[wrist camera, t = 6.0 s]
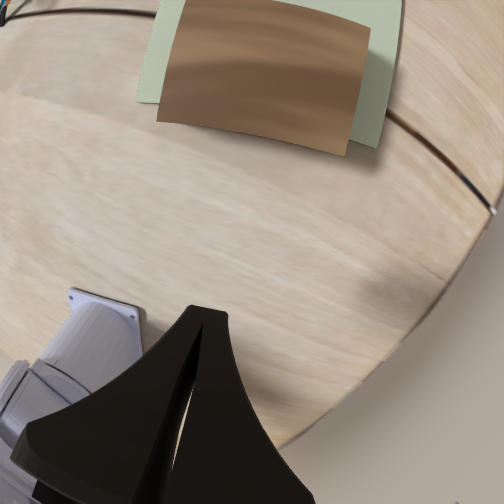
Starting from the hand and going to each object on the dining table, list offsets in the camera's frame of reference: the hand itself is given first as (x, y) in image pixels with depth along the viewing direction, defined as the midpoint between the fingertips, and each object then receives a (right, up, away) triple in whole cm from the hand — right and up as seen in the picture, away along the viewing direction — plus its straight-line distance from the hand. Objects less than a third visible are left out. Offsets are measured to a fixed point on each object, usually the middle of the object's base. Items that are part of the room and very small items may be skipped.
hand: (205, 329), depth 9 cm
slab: (+2, +9, +5) cm, 11 cm away
